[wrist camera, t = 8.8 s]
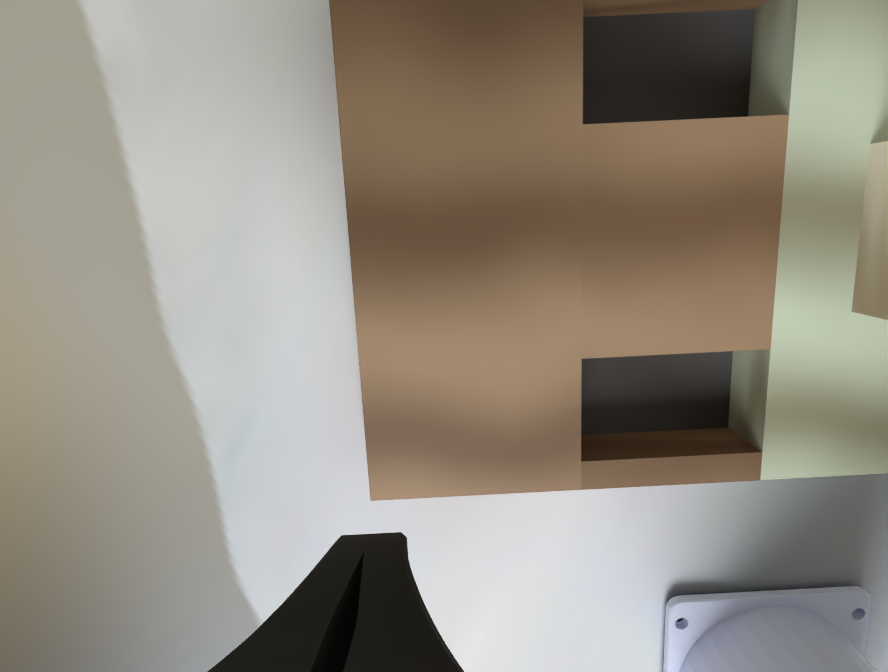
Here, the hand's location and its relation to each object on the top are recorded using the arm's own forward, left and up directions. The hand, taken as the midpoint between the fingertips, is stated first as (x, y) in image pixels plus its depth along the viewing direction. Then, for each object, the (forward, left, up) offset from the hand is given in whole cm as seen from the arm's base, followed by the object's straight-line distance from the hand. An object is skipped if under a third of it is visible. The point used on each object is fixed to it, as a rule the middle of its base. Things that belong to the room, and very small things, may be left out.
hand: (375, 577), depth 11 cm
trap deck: (+6, -9, -9) cm, 14 cm away
